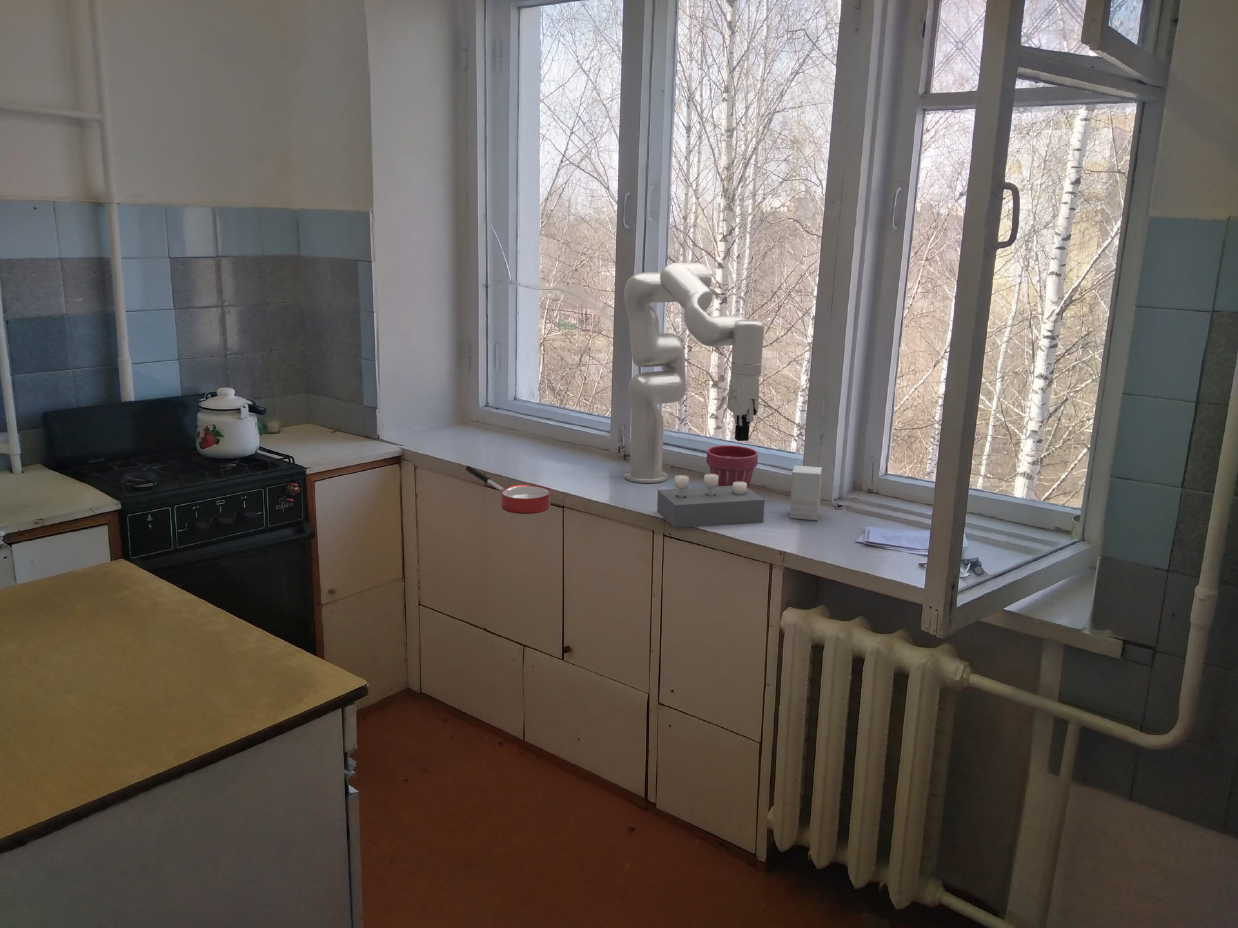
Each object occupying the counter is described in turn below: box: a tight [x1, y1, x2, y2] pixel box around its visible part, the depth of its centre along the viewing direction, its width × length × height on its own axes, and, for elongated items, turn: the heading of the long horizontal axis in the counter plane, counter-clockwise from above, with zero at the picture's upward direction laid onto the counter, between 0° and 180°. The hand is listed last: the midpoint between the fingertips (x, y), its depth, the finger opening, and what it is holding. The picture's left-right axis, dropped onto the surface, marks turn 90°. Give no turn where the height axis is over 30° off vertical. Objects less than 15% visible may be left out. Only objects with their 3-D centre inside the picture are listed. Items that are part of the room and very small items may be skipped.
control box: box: [656, 486, 765, 529], centre depth 247 cm, size 14×24×6 cm, turn 106°
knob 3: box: [732, 481, 747, 495], centre depth 248 cm, size 4×4×7 cm
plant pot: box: [705, 444, 759, 489], centre depth 266 cm, size 14×14×13 cm
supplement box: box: [789, 465, 823, 521], centre depth 249 cm, size 7×7×13 cm
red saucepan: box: [465, 465, 552, 515], centre depth 258 cm, size 32×13×6 cm, turn 51°
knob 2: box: [703, 473, 718, 496], centre depth 246 cm, size 4×4×7 cm
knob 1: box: [674, 474, 690, 498], centre depth 243 cm, size 4×4×7 cm
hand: (741, 440), depth 245 cm, fingers closed
